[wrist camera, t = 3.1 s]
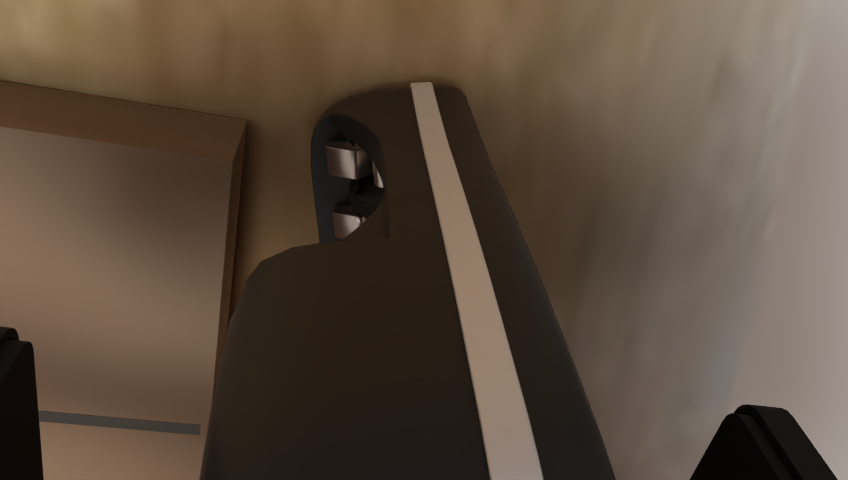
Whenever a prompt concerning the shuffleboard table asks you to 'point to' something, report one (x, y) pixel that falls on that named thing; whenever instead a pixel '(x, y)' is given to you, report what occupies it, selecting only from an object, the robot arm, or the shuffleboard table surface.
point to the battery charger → (401, 321)
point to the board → (118, 274)
